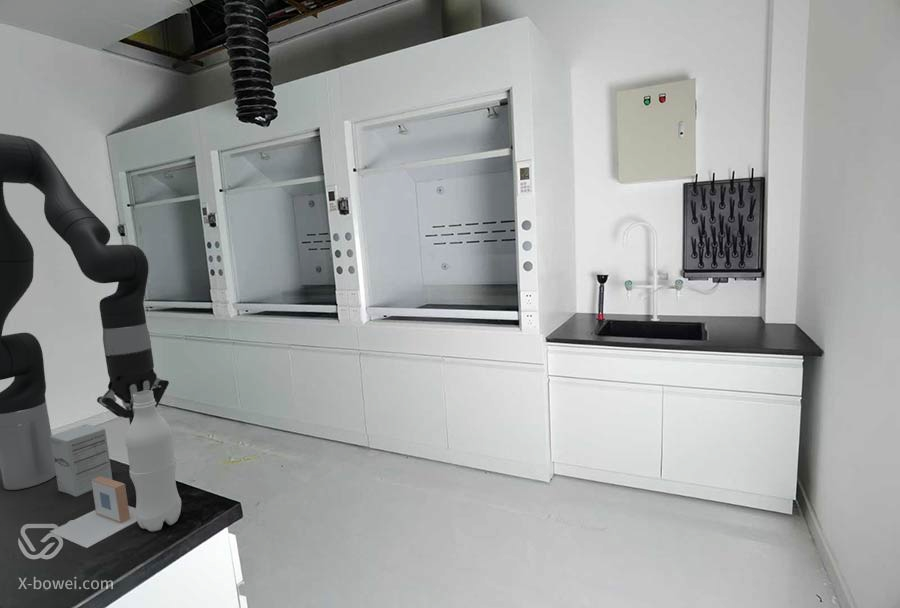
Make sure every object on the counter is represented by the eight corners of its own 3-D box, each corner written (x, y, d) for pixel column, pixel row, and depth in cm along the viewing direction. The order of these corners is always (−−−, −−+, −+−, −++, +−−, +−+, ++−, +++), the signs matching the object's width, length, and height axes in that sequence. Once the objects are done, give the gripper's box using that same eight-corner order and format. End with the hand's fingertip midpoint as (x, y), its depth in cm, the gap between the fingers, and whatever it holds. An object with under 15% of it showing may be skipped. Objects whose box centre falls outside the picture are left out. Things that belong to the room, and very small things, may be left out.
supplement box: (57, 491, 102) (48, 435, 100) (96, 476, 108) (88, 422, 107) (75, 499, 99) (66, 441, 97) (114, 482, 105) (106, 427, 103)
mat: (49, 533, 87) (49, 531, 87) (114, 502, 96) (114, 500, 96) (87, 549, 81) (86, 547, 81) (151, 515, 91) (151, 513, 91)
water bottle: (157, 512, 92) (139, 386, 89) (191, 512, 91) (175, 386, 88) (128, 535, 85) (108, 399, 82) (165, 536, 84) (146, 399, 81)
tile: (95, 514, 92) (90, 480, 91) (105, 509, 93) (100, 476, 92) (120, 523, 88) (115, 488, 87) (130, 518, 90) (124, 483, 89)
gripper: (150, 340, 100) (161, 419, 102) (79, 355, 88) (93, 444, 91) (173, 342, 97) (184, 423, 99) (102, 357, 85) (116, 450, 87)
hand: (141, 433), depth 95 cm, fingers closed
